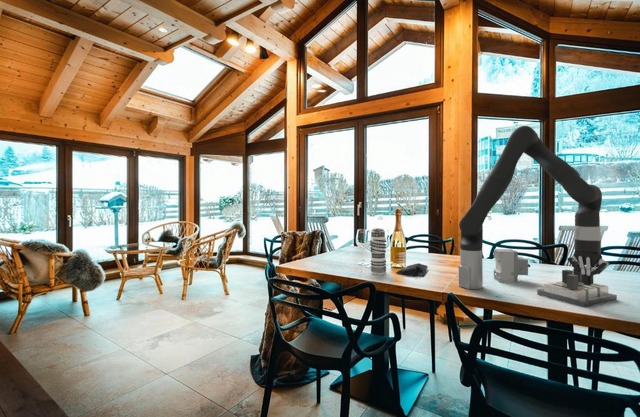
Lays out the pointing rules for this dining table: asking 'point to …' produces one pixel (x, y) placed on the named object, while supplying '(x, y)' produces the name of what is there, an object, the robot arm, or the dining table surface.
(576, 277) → the block
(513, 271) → the circuit breaker
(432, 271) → the dining table surface
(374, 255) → the grey ringed tower
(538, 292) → the breaker panel
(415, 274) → the dark slate chunk
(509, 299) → the dining table surface
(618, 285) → the dining table surface
